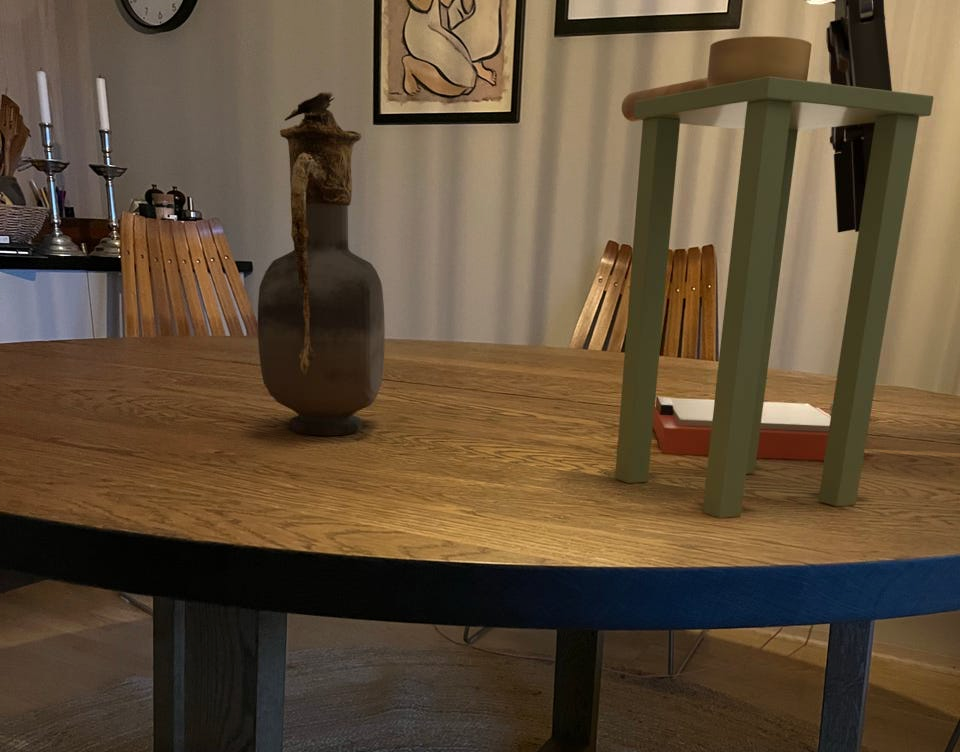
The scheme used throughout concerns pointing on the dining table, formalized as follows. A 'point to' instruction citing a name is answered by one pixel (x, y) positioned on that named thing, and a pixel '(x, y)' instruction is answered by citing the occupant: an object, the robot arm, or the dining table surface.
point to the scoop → (739, 66)
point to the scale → (780, 436)
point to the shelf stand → (764, 269)
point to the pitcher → (321, 289)
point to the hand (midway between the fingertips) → (863, 229)
